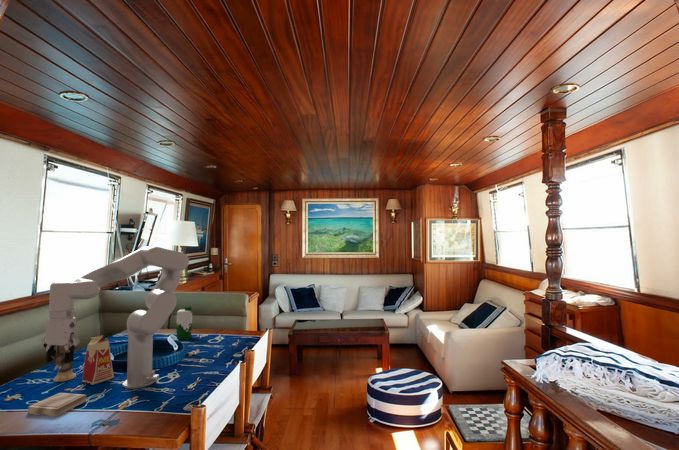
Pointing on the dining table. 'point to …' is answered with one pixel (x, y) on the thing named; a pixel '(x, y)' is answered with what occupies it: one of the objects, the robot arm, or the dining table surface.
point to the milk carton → (97, 361)
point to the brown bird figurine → (61, 363)
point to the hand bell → (64, 373)
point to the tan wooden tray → (57, 404)
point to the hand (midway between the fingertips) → (59, 361)
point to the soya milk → (184, 323)
